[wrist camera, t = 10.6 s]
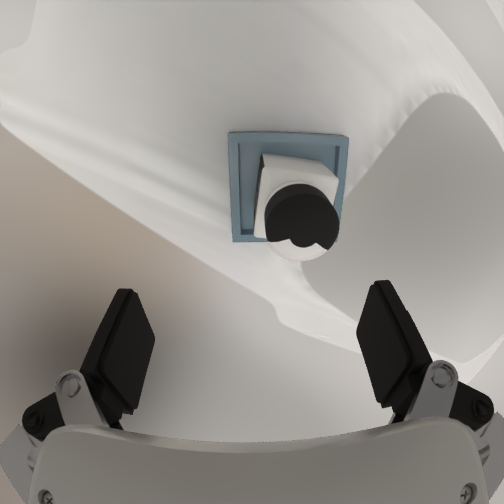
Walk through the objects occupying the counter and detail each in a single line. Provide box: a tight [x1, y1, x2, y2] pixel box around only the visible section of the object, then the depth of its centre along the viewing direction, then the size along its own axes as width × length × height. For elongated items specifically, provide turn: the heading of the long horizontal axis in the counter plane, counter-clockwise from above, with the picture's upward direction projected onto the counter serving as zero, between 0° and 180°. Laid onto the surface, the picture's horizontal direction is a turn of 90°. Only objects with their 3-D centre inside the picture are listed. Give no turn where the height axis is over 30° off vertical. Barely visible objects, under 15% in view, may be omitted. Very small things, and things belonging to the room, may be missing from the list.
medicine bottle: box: [253, 153, 339, 261], centre depth 26 cm, size 7×7×12 cm
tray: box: [228, 132, 349, 242], centre depth 31 cm, size 13×13×2 cm
